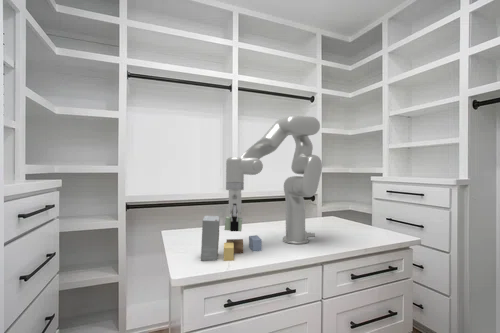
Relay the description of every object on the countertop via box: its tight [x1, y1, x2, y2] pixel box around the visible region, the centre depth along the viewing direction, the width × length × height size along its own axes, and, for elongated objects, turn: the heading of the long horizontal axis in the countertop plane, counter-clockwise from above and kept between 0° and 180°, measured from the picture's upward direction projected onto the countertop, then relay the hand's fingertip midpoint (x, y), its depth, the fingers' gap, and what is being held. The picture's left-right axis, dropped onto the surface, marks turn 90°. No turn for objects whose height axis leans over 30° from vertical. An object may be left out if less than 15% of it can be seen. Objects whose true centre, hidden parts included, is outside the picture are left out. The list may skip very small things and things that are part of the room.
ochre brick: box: [223, 242, 235, 262], centre depth 100 cm, size 7×4×5 cm, turn 5°
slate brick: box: [248, 234, 263, 252], centre depth 111 cm, size 7×4×5 cm, turn 14°
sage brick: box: [223, 216, 243, 232], centre depth 107 cm, size 7×4×5 cm, turn 94°
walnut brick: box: [225, 238, 244, 255], centre depth 107 cm, size 7×4×5 cm, turn 94°
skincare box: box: [200, 215, 221, 262], centre depth 100 cm, size 8×7×16 cm
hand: (234, 229), depth 107 cm, fingers closed on sage brick, 3 cm apart
